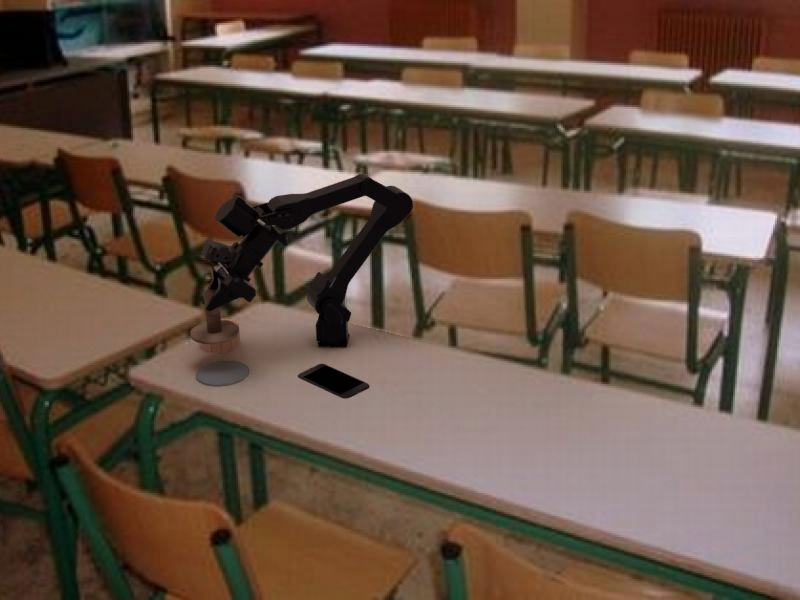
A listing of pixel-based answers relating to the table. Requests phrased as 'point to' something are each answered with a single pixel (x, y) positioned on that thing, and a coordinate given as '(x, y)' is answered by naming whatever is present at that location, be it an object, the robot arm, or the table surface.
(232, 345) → the bowl
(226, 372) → the mat
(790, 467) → the table surface
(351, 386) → the smartphone
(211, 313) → the post with round base
